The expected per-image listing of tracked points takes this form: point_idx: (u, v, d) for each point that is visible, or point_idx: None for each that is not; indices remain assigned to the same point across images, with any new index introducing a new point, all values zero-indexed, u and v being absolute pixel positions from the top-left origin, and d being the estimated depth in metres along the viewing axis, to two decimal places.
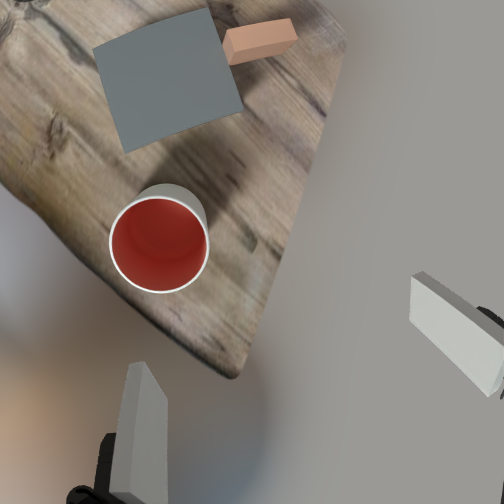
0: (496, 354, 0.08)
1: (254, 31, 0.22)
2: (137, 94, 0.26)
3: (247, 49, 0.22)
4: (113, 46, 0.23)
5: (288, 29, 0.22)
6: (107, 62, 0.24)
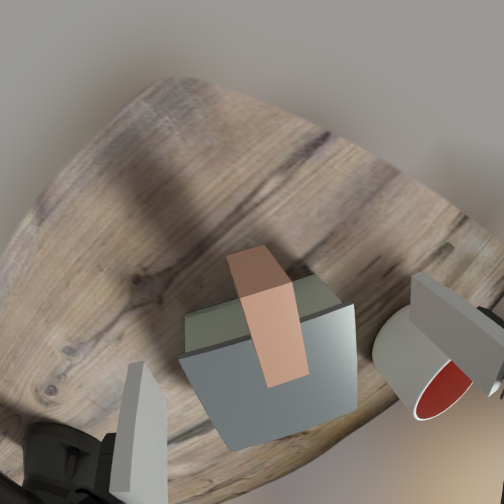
0: (496, 354, 0.08)
1: (273, 353, 0.15)
2: (301, 411, 0.24)
3: None
4: (232, 438, 0.23)
5: (270, 300, 0.14)
6: (252, 439, 0.24)
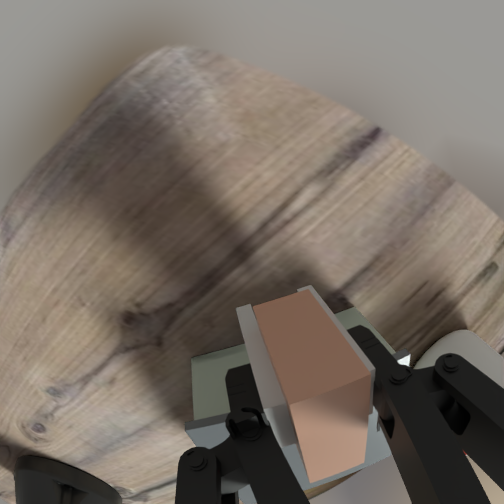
0: None
1: (325, 454, 0.09)
2: None
3: None
4: (249, 495, 0.18)
5: (334, 401, 0.08)
6: None
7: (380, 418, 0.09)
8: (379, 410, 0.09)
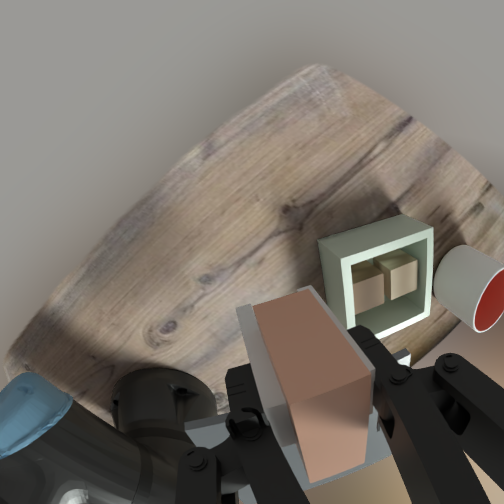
0: None
1: (325, 454, 0.09)
2: None
3: None
4: (249, 495, 0.18)
5: (334, 401, 0.08)
6: None
7: (380, 418, 0.09)
8: (379, 410, 0.09)
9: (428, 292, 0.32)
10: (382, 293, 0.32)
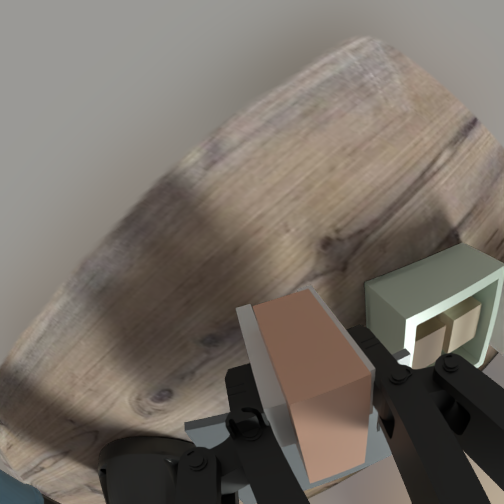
0: None
1: (325, 454, 0.09)
2: None
3: None
4: (249, 495, 0.18)
5: (334, 401, 0.08)
6: None
7: (380, 418, 0.09)
8: (379, 410, 0.09)
9: (487, 340, 0.22)
10: (440, 348, 0.22)
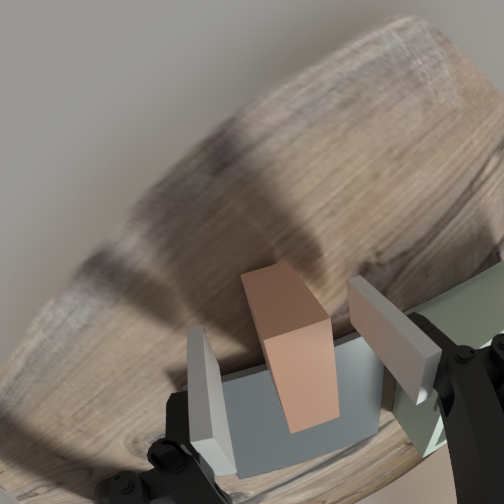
0: (417, 362, 0.09)
1: (300, 399, 0.11)
2: (319, 439, 0.20)
3: None
4: (242, 467, 0.20)
5: (301, 341, 0.10)
6: (264, 467, 0.21)
7: (440, 397, 0.09)
8: (440, 389, 0.09)
9: None
10: None
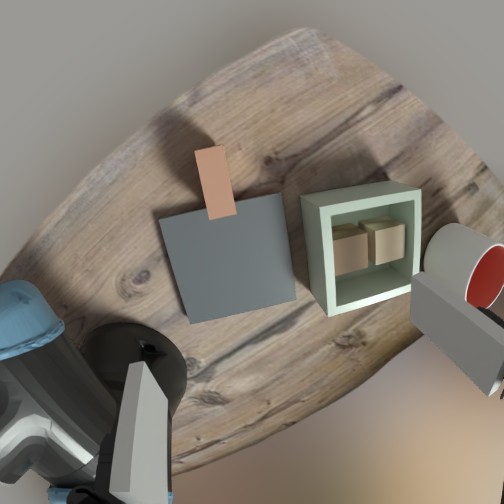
0: (496, 354, 0.08)
1: (212, 191, 0.25)
2: (247, 287, 0.34)
3: (233, 200, 0.26)
4: (192, 306, 0.34)
5: (210, 154, 0.24)
6: (208, 311, 0.34)
7: None
8: None
9: (416, 261, 0.31)
10: (366, 255, 0.31)
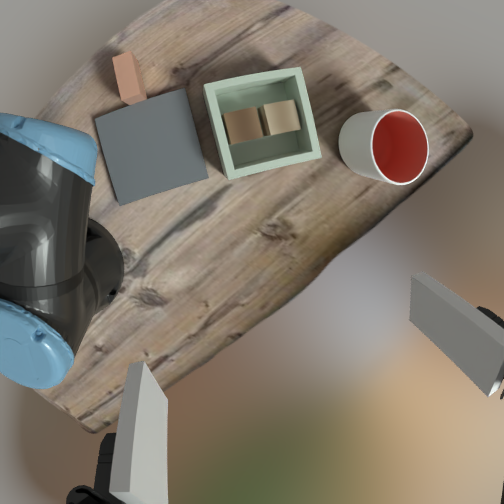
0: (496, 354, 0.08)
1: (123, 80, 0.29)
2: (163, 167, 0.38)
3: (138, 85, 0.30)
4: (120, 188, 0.38)
5: (122, 57, 0.28)
6: (133, 192, 0.38)
7: None
8: None
9: (311, 129, 0.35)
10: (258, 126, 0.35)
